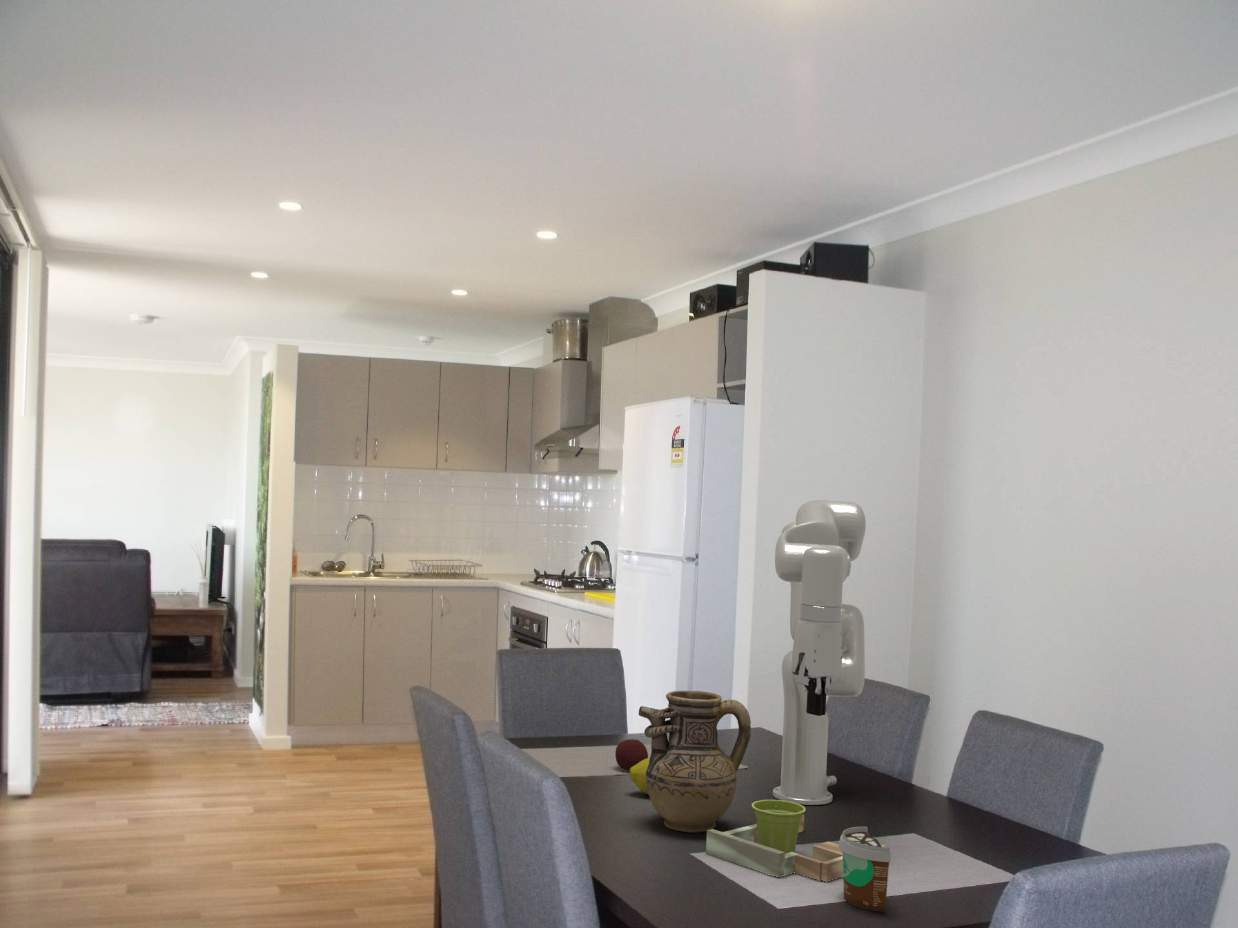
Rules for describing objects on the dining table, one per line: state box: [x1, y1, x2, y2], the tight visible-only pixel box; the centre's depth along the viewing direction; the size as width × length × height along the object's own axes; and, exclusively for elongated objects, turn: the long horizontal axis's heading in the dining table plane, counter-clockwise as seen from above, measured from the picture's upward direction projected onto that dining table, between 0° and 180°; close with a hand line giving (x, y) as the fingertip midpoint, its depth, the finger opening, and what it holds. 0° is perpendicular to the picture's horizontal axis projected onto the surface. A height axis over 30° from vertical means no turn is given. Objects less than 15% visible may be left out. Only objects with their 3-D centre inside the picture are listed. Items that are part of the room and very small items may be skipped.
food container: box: [838, 826, 891, 912], centre depth 177 cm, size 12×6×10 cm, turn 5°
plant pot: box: [751, 799, 807, 854], centre depth 198 cm, size 9×9×9 cm
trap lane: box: [705, 814, 886, 882], centre depth 199 cm, size 26×22×4 cm
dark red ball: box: [614, 738, 649, 772], centre depth 258 cm, size 7×8×7 cm
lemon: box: [629, 757, 650, 795], centre depth 236 cm, size 11×8×8 cm
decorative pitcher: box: [638, 690, 752, 834], centre depth 214 cm, size 22×18×25 cm
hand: (815, 713), depth 207 cm, fingers closed
